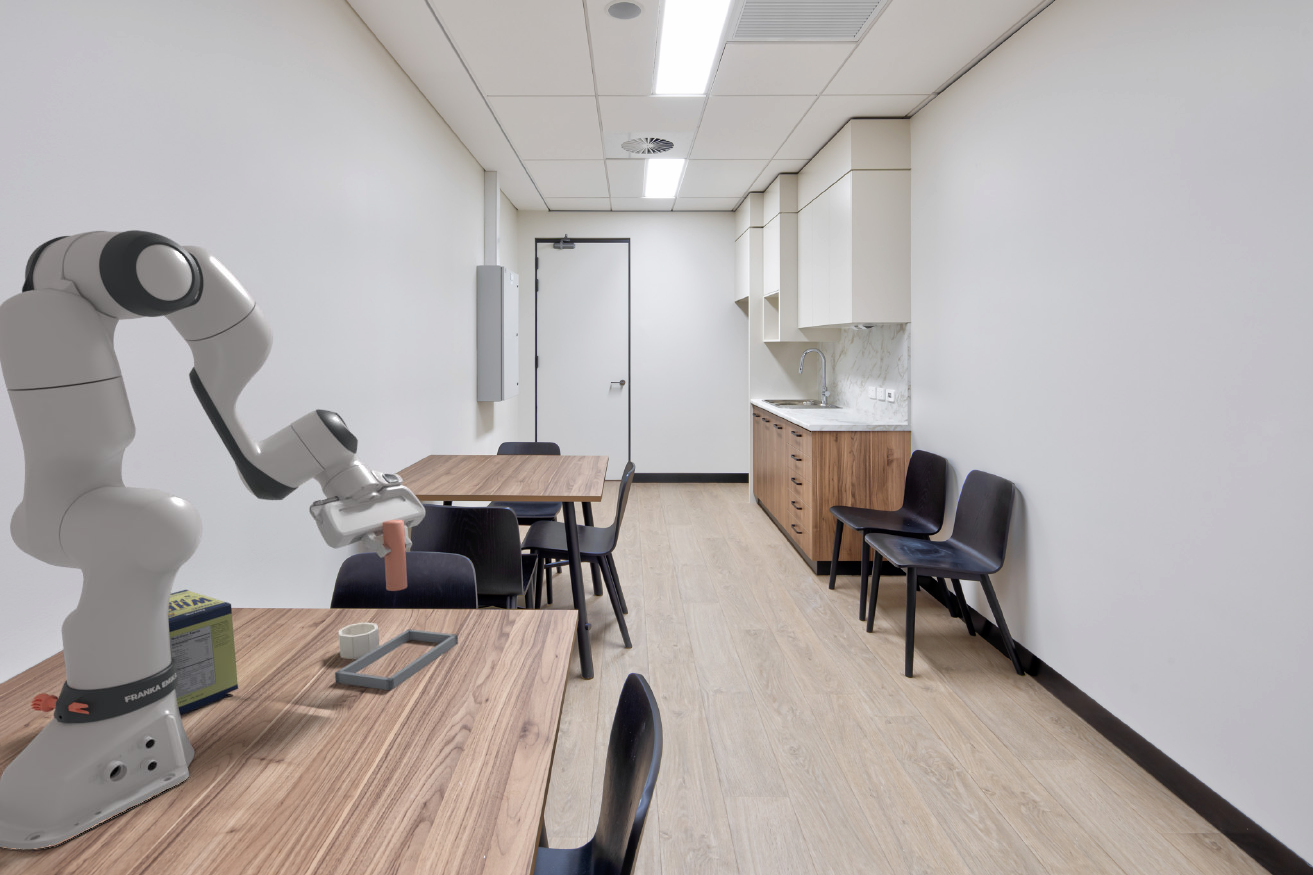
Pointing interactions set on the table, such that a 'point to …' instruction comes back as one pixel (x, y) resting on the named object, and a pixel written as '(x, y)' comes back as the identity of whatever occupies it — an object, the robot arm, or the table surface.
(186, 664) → the protein box
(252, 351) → the robot arm
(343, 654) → the cup
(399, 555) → the sausage
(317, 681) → the table surface
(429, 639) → the tray
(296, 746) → the table surface
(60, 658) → the table surface
